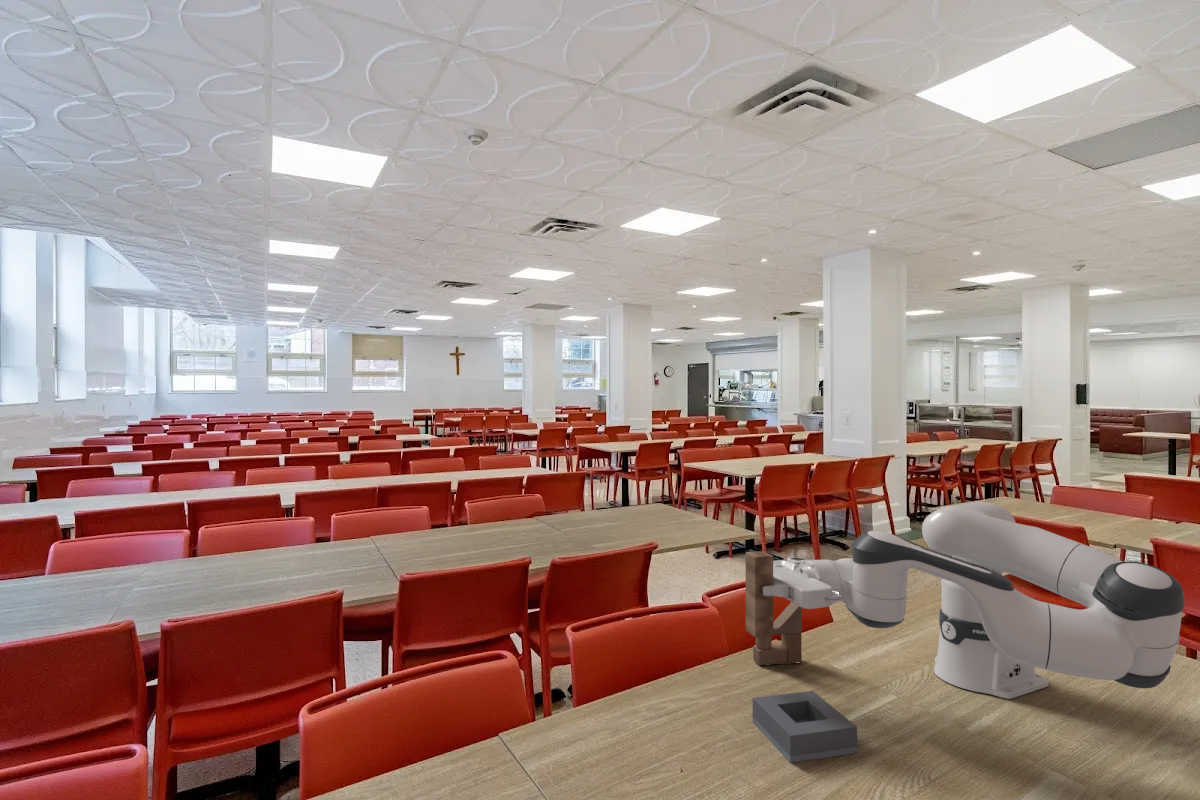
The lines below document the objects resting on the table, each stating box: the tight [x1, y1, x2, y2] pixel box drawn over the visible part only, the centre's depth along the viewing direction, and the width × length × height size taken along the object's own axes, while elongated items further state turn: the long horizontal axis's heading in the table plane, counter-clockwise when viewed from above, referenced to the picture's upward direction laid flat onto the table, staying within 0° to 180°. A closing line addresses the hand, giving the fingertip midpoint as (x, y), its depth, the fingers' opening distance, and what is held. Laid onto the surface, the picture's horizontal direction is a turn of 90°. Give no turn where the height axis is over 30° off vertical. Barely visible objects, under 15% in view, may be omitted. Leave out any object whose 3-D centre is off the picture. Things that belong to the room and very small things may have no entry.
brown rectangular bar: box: [745, 550, 774, 639], centre depth 115 cm, size 4×4×16 cm
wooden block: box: [752, 601, 803, 666], centre depth 134 cm, size 4×11×18 cm, turn 99°
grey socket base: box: [752, 690, 858, 764], centre depth 103 cm, size 13×13×4 cm
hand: (755, 586), depth 115 cm, fingers closed on brown rectangular bar, 4 cm apart
